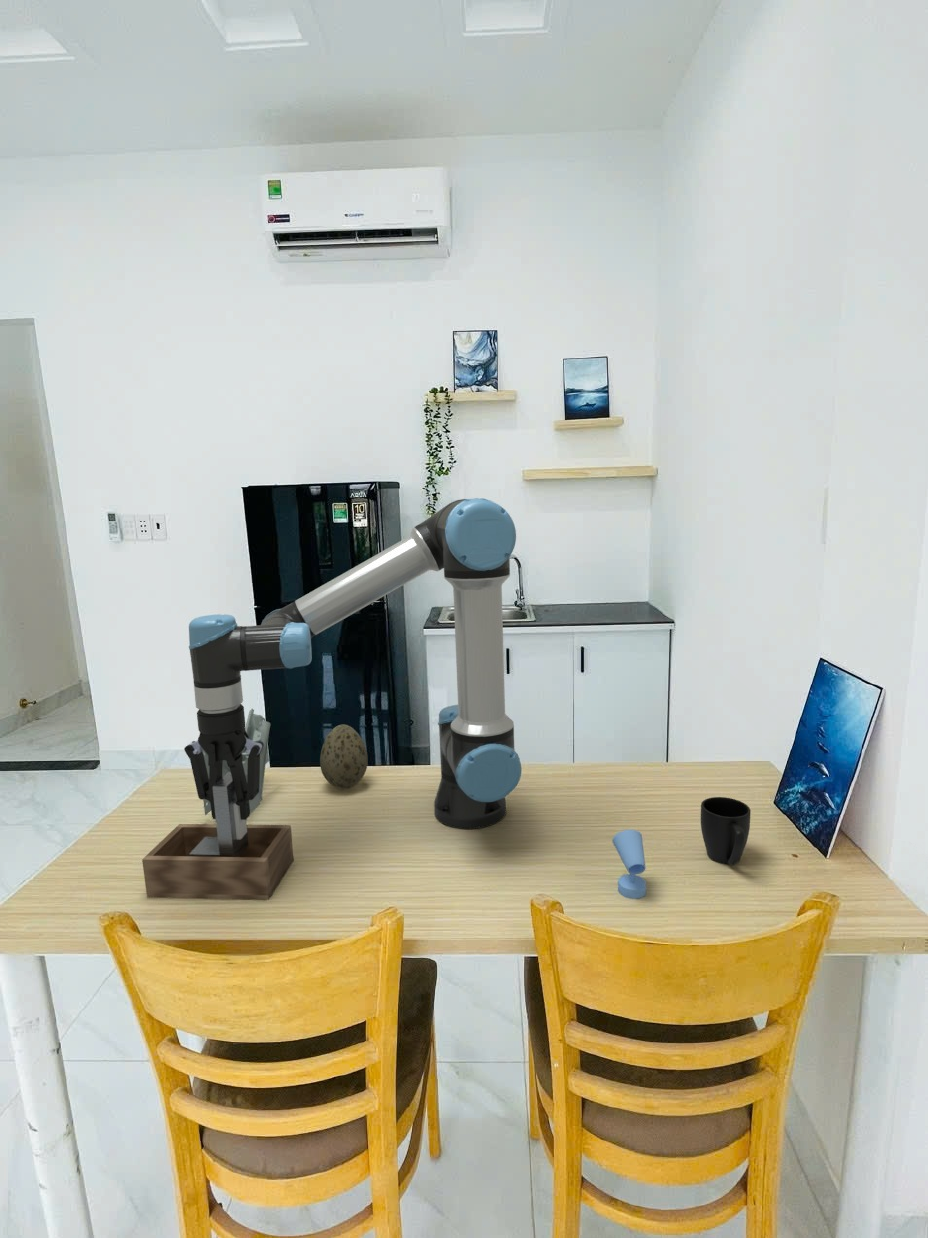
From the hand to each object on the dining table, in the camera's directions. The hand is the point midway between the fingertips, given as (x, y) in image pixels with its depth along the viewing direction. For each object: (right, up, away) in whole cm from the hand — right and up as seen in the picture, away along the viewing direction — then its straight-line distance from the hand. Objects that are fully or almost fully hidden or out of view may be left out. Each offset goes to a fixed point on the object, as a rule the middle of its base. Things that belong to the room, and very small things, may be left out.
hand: (233, 835), depth 117 cm
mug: (+87, -5, +1) cm, 87 cm away
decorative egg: (+13, -1, +38) cm, 40 cm away
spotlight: (+68, -7, -6) cm, 69 cm away
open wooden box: (-2, -8, +2) cm, 9 cm away
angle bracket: (-3, -4, +1) cm, 4 cm away
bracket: (-8, -4, +29) cm, 30 cm away
